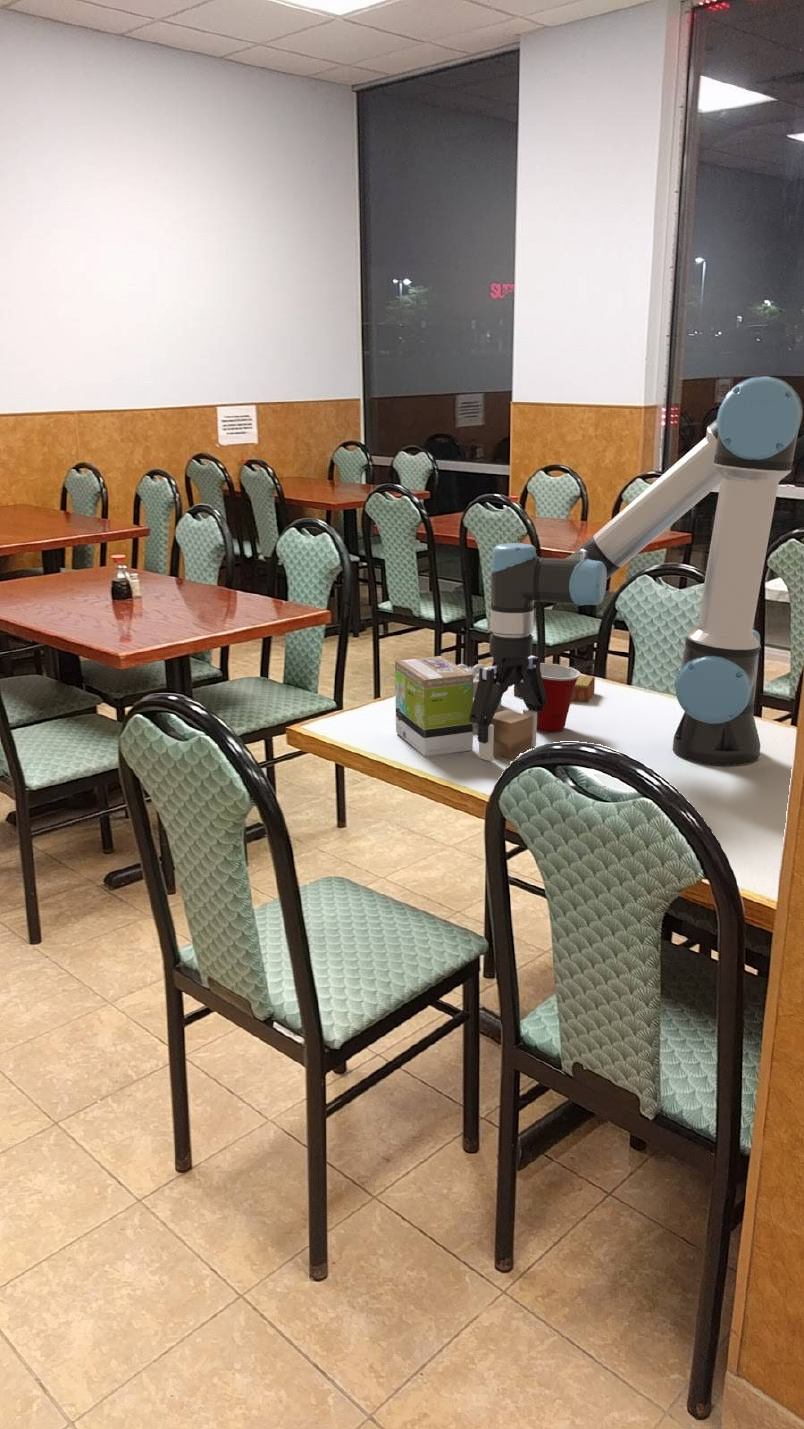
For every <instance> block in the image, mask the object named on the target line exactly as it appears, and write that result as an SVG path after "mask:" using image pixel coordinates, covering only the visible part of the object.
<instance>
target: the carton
mask: <svg viewBox="0 0 804 1429" xmlns="http://www.w3.org/2000/svg"><path fill="white" fill-rule="evenodd" d="M595 680H596V678H595V676H592V675H582V674H581V675H580V677H579V678H578V679H577V682H576V684H575V687H574V690H573V694H572V698H571V702H574V703H586V704H588V702H590V700H591V699H592V697H593V696H594V694H595V686H596V685H595V683H596V682H595ZM513 697H519V698H522V696H521V694H520V692H519V690H518V688H517V686H516V684H514V685H513Z"/></svg>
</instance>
